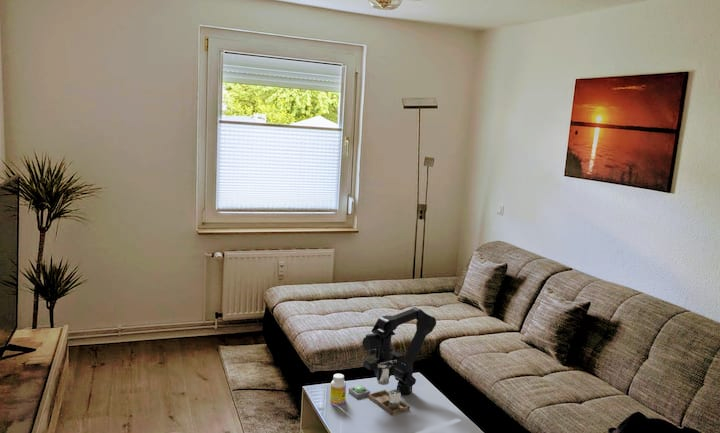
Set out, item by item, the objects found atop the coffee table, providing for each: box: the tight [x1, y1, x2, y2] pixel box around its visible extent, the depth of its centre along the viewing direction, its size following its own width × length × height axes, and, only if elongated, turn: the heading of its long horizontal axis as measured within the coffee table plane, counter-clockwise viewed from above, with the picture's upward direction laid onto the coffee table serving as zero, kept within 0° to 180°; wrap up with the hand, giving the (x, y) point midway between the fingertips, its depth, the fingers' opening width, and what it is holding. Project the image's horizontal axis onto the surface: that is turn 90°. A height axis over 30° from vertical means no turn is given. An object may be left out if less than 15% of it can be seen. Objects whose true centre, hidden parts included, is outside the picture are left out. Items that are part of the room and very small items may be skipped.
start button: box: [354, 385, 365, 393], centre depth 256 cm, size 4×4×3 cm
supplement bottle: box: [329, 373, 347, 407], centre depth 248 cm, size 7×7×13 cm
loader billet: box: [388, 389, 402, 410], centre depth 244 cm, size 5×5×7 cm
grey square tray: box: [348, 384, 371, 400], centre depth 256 cm, size 7×7×3 cm
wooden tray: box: [367, 389, 411, 416], centre depth 248 cm, size 9×18×3 cm, turn 34°
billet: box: [377, 364, 390, 386], centre depth 249 cm, size 5×5×7 cm
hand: (383, 379), depth 250 cm, fingers closed on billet, 5 cm apart
